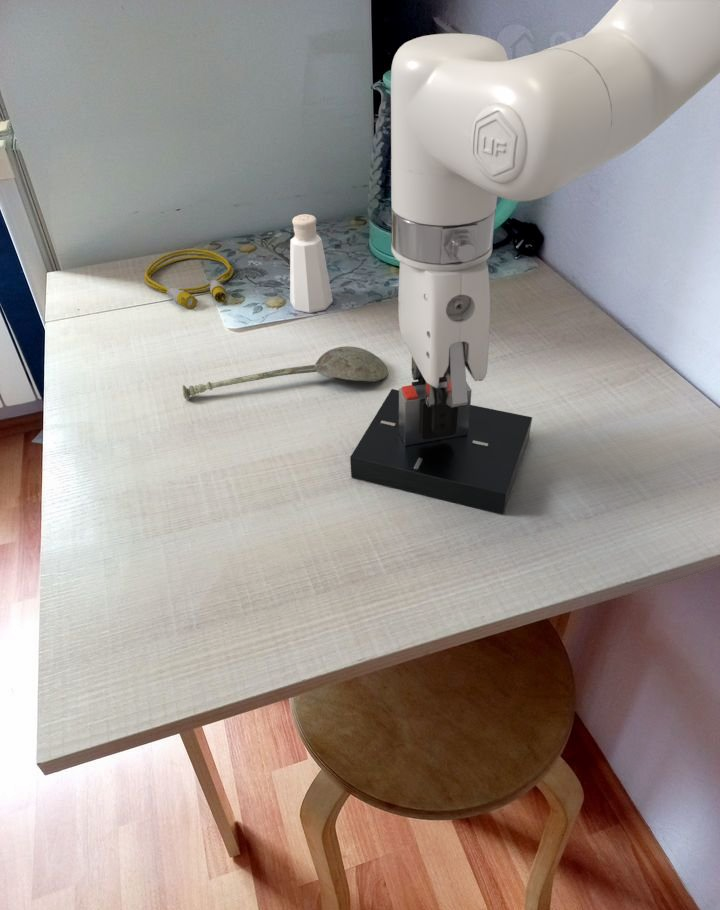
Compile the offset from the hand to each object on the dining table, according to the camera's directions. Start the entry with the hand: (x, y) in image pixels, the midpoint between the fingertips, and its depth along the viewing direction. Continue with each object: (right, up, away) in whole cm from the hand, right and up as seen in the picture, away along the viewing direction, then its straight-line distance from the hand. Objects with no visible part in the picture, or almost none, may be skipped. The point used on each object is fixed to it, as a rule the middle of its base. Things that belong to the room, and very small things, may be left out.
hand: (433, 424), depth 64 cm
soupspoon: (-14, +5, +12) cm, 19 cm away
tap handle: (0, -1, +1) cm, 1 cm away
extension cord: (-29, +20, +31) cm, 47 cm away
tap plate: (+1, -3, +2) cm, 4 cm away
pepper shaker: (-13, +16, +25) cm, 33 cm away
